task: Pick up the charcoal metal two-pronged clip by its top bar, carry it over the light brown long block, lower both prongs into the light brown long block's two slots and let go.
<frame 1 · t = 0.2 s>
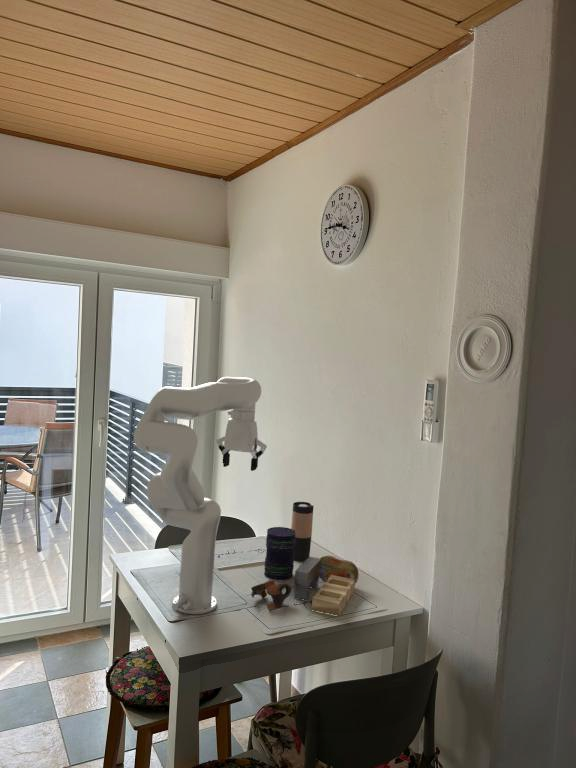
hand: (239, 468, 190), 36 cm above the table, tool pointing down, fingers open, 9 cm apart
light brown long block: (333, 601, 180), on the table
clip: (306, 592, 185), on the table
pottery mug: (270, 604, 175), on the table
travel mug: (299, 558, 215), on the table
storage jar: (278, 575, 198), on the table
tin: (336, 583, 194), on the table
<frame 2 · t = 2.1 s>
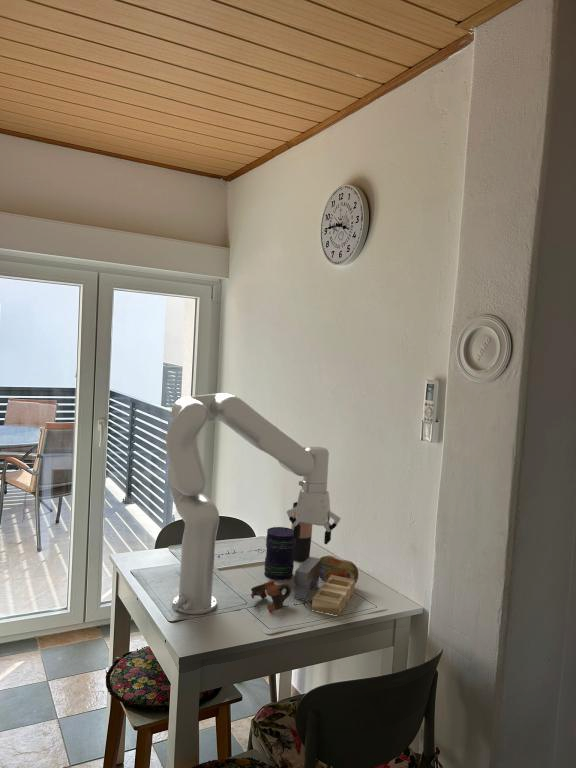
hand: (311, 540, 184), 17 cm above the table, tool pointing down, fingers open, 9 cm apart
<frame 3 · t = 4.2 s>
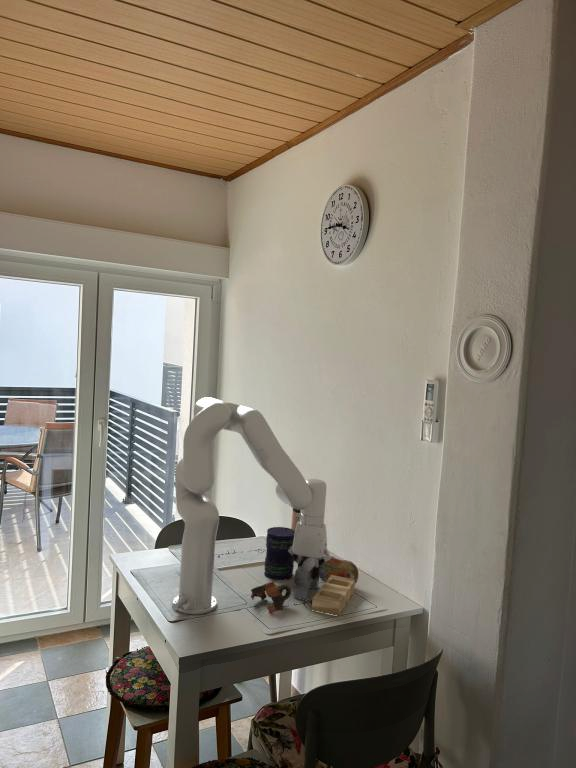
hand: (307, 575, 184), 5 cm above the table, tool pointing down, fingers closed on clip, 4 cm apart
clip: (306, 592, 185), on the table, touching gripper
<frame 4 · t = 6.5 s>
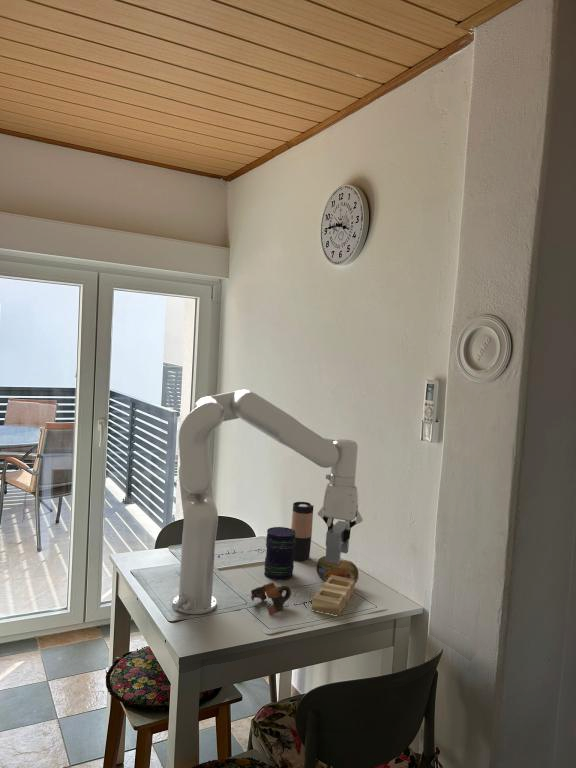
hand: (338, 539, 179), 19 cm above the table, tool pointing down, fingers closed on clip, 4 cm apart
clip: (337, 556, 179), point 14 cm above the table, touching gripper
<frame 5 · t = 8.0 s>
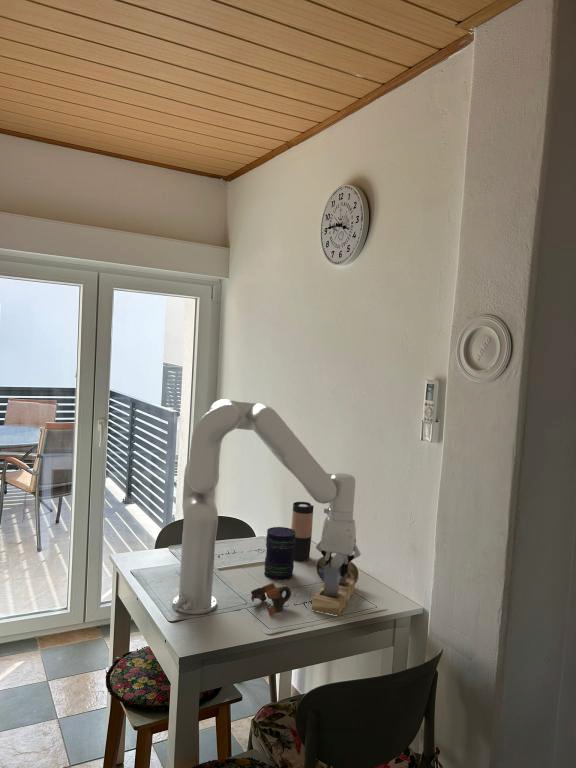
hand: (336, 573, 179), 9 cm above the table, tool pointing down, fingers closed on clip, 4 cm apart
clip: (335, 590, 180), point 3 cm above the table, touching gripper
when the fingers open (6 cm above the table, at t = 9.2 s): clip stays where it is, resting in light brown long block.
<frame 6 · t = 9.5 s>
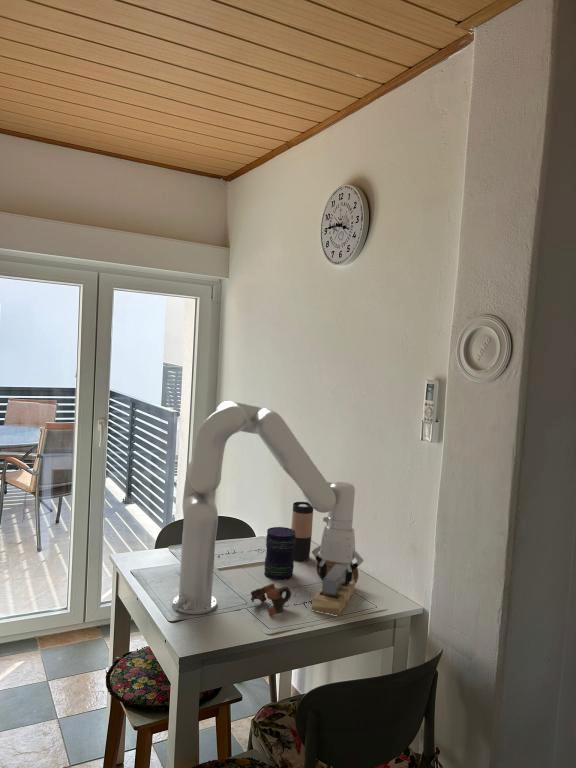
hand: (335, 580, 179), 7 cm above the table, tool pointing down, fingers open, 7 cm apart
clip: (333, 601, 180), resting in light brown long block
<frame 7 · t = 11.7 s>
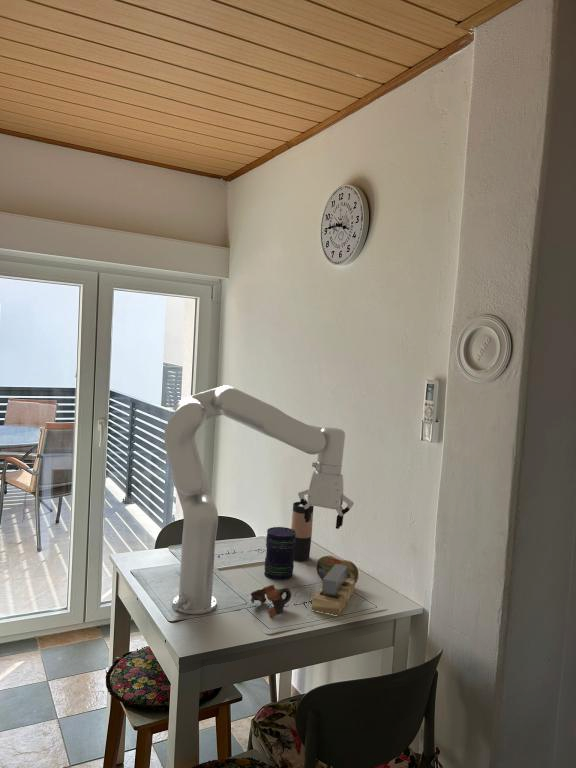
hand: (322, 524, 178), 24 cm above the table, tool pointing down, fingers open, 9 cm apart
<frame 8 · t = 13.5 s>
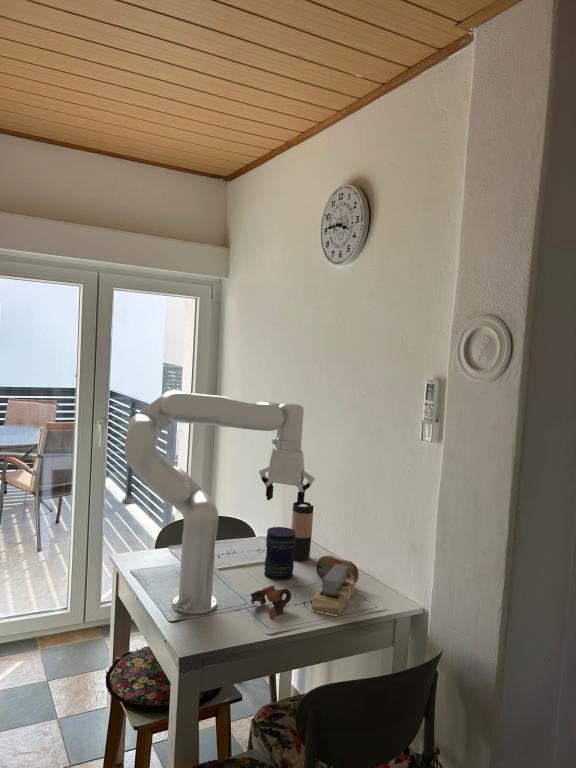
hand: (284, 501, 176), 30 cm above the table, tool pointing down, fingers open, 9 cm apart
at the end: clip 0.1 cm off-centre on the light brown long block, point 0.0 cm above the light brown long block's base; clip tilted 0°; the gripper is holding nothing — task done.
